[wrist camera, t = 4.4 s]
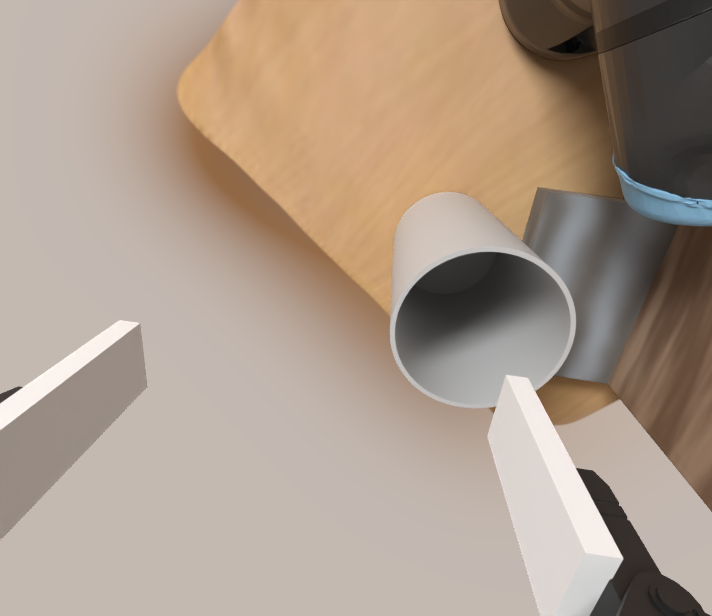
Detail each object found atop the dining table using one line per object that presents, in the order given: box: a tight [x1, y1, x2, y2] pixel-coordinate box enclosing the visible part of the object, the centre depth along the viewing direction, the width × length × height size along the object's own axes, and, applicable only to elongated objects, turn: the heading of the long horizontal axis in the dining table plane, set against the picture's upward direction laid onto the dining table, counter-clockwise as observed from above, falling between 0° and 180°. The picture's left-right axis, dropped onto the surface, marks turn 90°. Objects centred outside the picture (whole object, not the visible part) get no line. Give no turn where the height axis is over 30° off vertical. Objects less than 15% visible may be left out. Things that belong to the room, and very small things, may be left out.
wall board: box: [522, 187, 712, 511], centre depth 39 cm, size 16×22×30 cm
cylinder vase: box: [390, 192, 576, 408], centre depth 40 cm, size 12×12×25 cm
